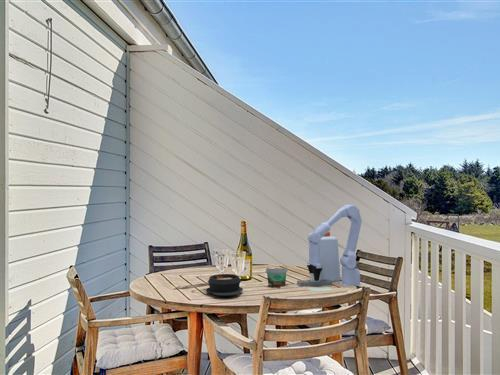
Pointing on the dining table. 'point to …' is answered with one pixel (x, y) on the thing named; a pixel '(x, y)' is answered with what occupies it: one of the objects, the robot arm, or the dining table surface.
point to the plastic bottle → (329, 258)
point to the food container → (276, 277)
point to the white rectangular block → (312, 278)
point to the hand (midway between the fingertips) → (314, 279)
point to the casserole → (224, 285)
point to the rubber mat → (320, 288)
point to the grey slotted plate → (314, 283)
